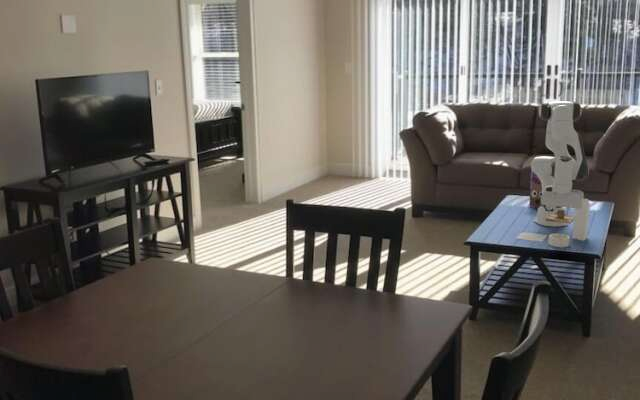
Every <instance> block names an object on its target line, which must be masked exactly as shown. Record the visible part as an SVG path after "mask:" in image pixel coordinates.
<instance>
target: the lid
mask: <svg viewBox="0 0 640 400" xmlns="http://www.w3.org/2000/svg"><path fill="white" fill-rule="evenodd" d="M564 212H565V209H564V210H558V215H555V214H551V215H550V216H549V217H547V218H546V221H551V222H560V223H568V224H571V223H573V222H574V219H575V217H574V215H573V216H571V215H567V216H564Z"/></svg>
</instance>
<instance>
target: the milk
mask: <svg viewBox="0 0 640 400" xmlns="http://www.w3.org/2000/svg"><path fill="white" fill-rule="evenodd" d="M590 209H591V203H590V202H589V199H588V198H583V206H582V208H580V209H578V208H574V215H573V217H575V219H574V220H573V232H572V239H573V240H576V239H577V240H576V241H581V242H582V241H583V242H584V241H585V240H587V239H588V236H589V235H588V234H589V222H590V221H589V220H590Z"/></svg>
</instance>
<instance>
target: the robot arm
mask: <svg viewBox="0 0 640 400" xmlns="http://www.w3.org/2000/svg"><path fill="white" fill-rule="evenodd" d="M582 112H583V111H582V107H581V104H580V103H579V102H576V101H566V100H561V101H557V100H556V101H544V102H542V103H541V104H540V106H539V108H538V115H539V118H540V119H541V120H542V121H545V122H547V124H546V130H545V131H546V132H545V133H546V134H545V146H546V148H547V149H548V150H550V151H551V152H553V155H554V156H548V155H539V156H535V157H534V158H533V159H532V161H531V163H530V168H531V170H532V171H533V172H534V173H535V174H536V175H537V176H538V178H539V179H540V181H541V184H542V197H541V207H539V208H537V215H536V219H534V220H533V222H534V223H536V224H538V225H541V226H545V227H565V226H568V223H560V222H551V221H546V218H547V217H549V216H550V215H551V214H555V215H558V210H564V216H568V213H569V211H570V210H571V209H575V208H578V209H580V208H582V206H583V199H584V197H585V194H584V191H582V190H580V189H579V190H578V189H573V181H581V182H582V181H584V180H585V179H586V178H588V177H589V172H590V169H589V165H588V162H587V158H586V153H585V149H584V145H583V141H582V136H581V134H580V133H578V132H577V131H576V130H575V127H574V122H576V121H578V120H579V119H580V117H581V116H582ZM568 145H569V146H571V147H572V148H573V150H574V153H575V158H576V160H575V159H574V158H573V157H572V156H571V155H570V153H569V150H568ZM554 178H555V180H554ZM564 208H566V210H565V209H564Z"/></svg>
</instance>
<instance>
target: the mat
mask: <svg viewBox="0 0 640 400" xmlns="http://www.w3.org/2000/svg"><path fill="white" fill-rule="evenodd" d="M547 237H549V235H547V234H541V233H540V234H539V233H533V232H525V231H524V232H523V231H522V232H521V233H519V234H518V235H517V236H516V237H515V239H518V240H526V241H532V242H540V243H542V242H543V241H544V240H545V239H546V238H547Z"/></svg>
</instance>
